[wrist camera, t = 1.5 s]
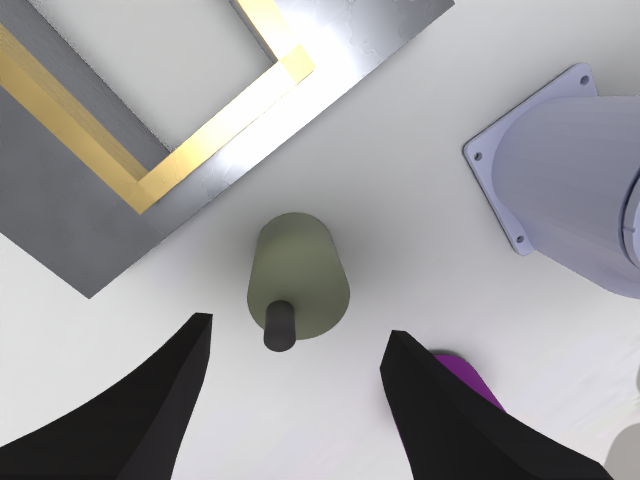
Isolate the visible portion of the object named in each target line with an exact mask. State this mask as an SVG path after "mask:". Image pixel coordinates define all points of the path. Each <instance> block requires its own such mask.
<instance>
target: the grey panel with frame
mask: <svg viewBox="0 0 640 480" xmlns="http://www.w3.org/2000/svg"><path fill="white" fill-rule="evenodd" d="M229 2H230V3H231V5H232V6H233V8H234V9H235V10H236V12H237V13H238V15H239V16H240V17H241V19H242V20H243V22H244V23H245V25H246V26H247V27H248V29H249V30H250V32H251V33H252V34H253V36H254V37H255V39H256V40H257V42H258V43H259V44H260V46H261V47H262V49H263V50H264V51H265V53H266V54H267V56H268V57H269V59H270V60H271V61H272V63H273V64H274V66H273V67H271V68H270V69H269V70H268V71H267V72H266V73H264V74H263V75H262V76H261V77H260V78H259V79H258V80H256V81H255V82H254V83H253V84H252V85H251V86H249V87H248V88H247V89H246V90H245V91H244V92H242V93H241V94H240V95H239V96H238V97H237V98H235V99H234V100H233V101H232V102H231V103H230V104H228V105H227V106H226V107H225V108H224V109H223V110H221V111H220V112H219V113H218V114H217V115H216V116H214V117H213V118H212V119H211V120H210V121H209V122H207V123H206V124H205V125H204V126H203V127H202V128H200V129H199V130H198V131H197V132H196V133H195V134H194V135H192V136H191V137H190V138H189V139H188V140H187V141H185V142H184V143H183V144H182V145H181V146H180V147H178V148H177V149H176V150H175V151H174V152H173V153H170V152H169V151H168V150H167V149H166V148H165V147H164V146H163V145H162V144H161V143H160V142H159V141H158V139H157V138H156V137H155V136H154V135H153V134H152V133H151V132H150V131H149V130H148V129H147V128H146V127H145V126H144V125H143V123H142V122H141V121H140V120H139V119H138V118H137V117H136V116H135V115H134V114H133V113H132V112H131V111H130V110H129V109H128V107H127V106H126V105H125V104H124V103H123V102H122V101H121V100H120V99H119V98H118V97H117V96H116V95H115V94H114V93H113V91H112V90H111V89H110V88H109V87H108V86H107V85H106V84H105V83H104V82H103V81H102V80H101V79H100V78H99V77H98V75H97V74H96V73H95V72H94V71H93V70H92V69H91V68H90V67H89V66H88V65H87V64H86V63H85V62H84V61H83V59H82V58H81V57H80V56H79V55H78V54H77V53H76V52H75V51H74V50H73V49H72V48H71V47H70V46H69V45H68V43H67V42H66V41H65V40H64V39H63V38H62V37H61V36H60V35H59V34H58V33H57V32H56V31H55V30H54V29H53V27H52V26H51V25H50V24H49V23H48V22H47V21H46V20H45V19H44V18H43V17H42V16H41V15H40V14H39V13H38V12H37V10H36V9H35V8H34V7H33V6H32V5H31V4H30V3H29V2H28V1H27V0H0V232H1V233H2V234H3V235H5V236H6V237H7V238H9V239H10V240H11V241H12V242H14V243H15V244H16V245H18V246H19V247H20V248H22V249H23V250H24V251H26V252H27V253H28V254H30V255H31V256H32V257H34V258H35V259H36V260H38V261H39V262H40V263H42V264H43V265H44V266H46V267H47V268H48V269H50V270H51V271H52V272H54V273H55V274H56V275H57V276H59V277H60V278H61V279H63V280H64V281H65V282H67V283H68V284H69V285H71V286H72V287H73V288H75V289H76V290H77V291H79V292H80V293H81V294H83V295H84V296H85V297H87V298H88V299H90V298H92V297H93V296H94V295H95V294H96V293H98V292H99V291H100V290H101V289H103V288H104V287H105V286H106V285H108V284H109V283H110V282H111V281H113V280H114V279H115V278H116V277H118V276H119V275H120V274H121V273H122V272H124V271H125V270H126V269H127V268H129V267H130V266H131V265H132V264H134V263H135V262H136V261H137V260H139V259H140V258H141V257H142V256H144V255H145V254H146V253H147V252H148V251H150V250H151V249H152V248H153V247H155V246H156V245H157V244H158V243H160V242H161V241H162V240H163V239H165V238H166V237H167V236H168V235H170V234H171V233H172V232H173V231H174V230H176V229H177V228H178V227H179V226H181V225H182V224H183V223H184V222H186V221H187V220H188V219H189V218H191V217H192V216H193V215H194V214H196V213H197V212H198V211H199V210H200V209H202V208H203V207H204V206H205V205H207V204H208V203H209V202H210V201H212V200H213V199H214V198H215V197H217V196H218V195H219V194H220V193H222V192H223V191H224V190H225V189H226V188H228V187H229V186H230V185H231V184H233V183H234V182H235V181H236V180H238V179H239V178H240V177H241V176H243V175H244V174H245V173H246V172H248V171H249V170H250V169H251V168H252V167H254V166H255V165H256V164H257V163H259V162H260V161H261V160H262V159H264V158H265V157H266V156H267V155H269V154H270V153H271V152H272V151H274V150H275V149H276V148H277V147H278V146H280V145H281V144H282V143H283V142H285V141H286V140H287V139H288V138H290V137H291V136H292V135H293V134H295V133H296V132H297V131H298V130H300V129H301V128H302V127H303V126H304V125H306V124H307V123H308V122H309V121H311V120H312V119H313V118H314V117H316V116H317V115H318V114H319V113H321V112H322V111H323V110H324V109H326V108H327V107H328V106H329V105H330V104H332V103H333V102H334V101H335V100H337V99H338V98H339V97H340V96H342V95H343V94H344V93H345V92H347V91H348V90H349V89H350V88H352V87H353V86H354V85H355V84H356V83H358V82H359V81H360V80H361V79H363V78H364V77H365V76H366V75H368V74H369V73H370V72H371V71H373V70H374V69H375V68H376V67H378V66H379V65H380V64H381V63H382V62H384V61H385V60H386V59H387V58H389V57H390V56H391V55H392V54H394V53H395V52H396V51H397V50H399V49H400V48H401V47H402V46H404V45H405V44H406V43H407V42H408V41H410V40H411V39H412V38H413V37H415V36H416V35H417V34H418V33H420V32H421V31H422V30H423V29H425V28H426V27H427V26H428V25H430V24H431V23H432V22H433V21H434V20H436V19H437V18H438V17H439V16H441V15H442V14H443V13H444V12H446V11H447V10H448V9H449V8H451V7H452V6H453V5H454V4H455V3H454V1H453V0H229Z"/></svg>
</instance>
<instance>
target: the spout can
mask: <svg viewBox="0 0 640 480" xmlns="http://www.w3.org/2000/svg"><path fill="white" fill-rule="evenodd" d="M349 298H350V290H349V284H348V281H347V279H346V276H345V273H344V270H343V268H342V265H341V262H340V260H339V257H338V254H337V252H336V249H335V246H334V243H333V241H332V238H331V235H330V233H329V231H328V229H327V228H326V227H325V225H324V224H323V223H322V222H320V221H319V220H318V219H316V218H315V217H313V216H311V215H308V214H304V213H287V214H283V215H280V216H278V217H276V218H274V219H272V220H271V221H270V222H269V223H267V224H266V225H265V227H264V228H263V229H262V231H261V233H260V235H259V237H258V240H257V246H256V251H255V256H254V261H253V266H252V272H251V277H250V282H249V287H248V293H247V303H248V308H249V311H250V313H251V315H252V317H253V319H254V320H255V322H256V323H257V324H258V325H259V326H260V327H261V328H262V329H264V344H265V346H266V347H267V348H268V349H270V350H272V351H275V352H283V351H286V350H289V349H290V348H291V347H292V346H293V345H294V344H295V341H296V340H303V339H309V338H313V337H316V336H319V335H321V334H323V333H325V332H327V331H329V330H330V329H331V328H333V327H334V326H335V325H336V324H337V323H338V322H339V321H340V320H341V318H342V317H343V315H344V314H345V312H346V310H347V307H348V304H349Z"/></svg>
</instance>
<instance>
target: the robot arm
mask: <svg viewBox="0 0 640 480" xmlns="http://www.w3.org/2000/svg"><path fill="white" fill-rule="evenodd" d="M582 77H583V82H582V84H580V81H581V78H582ZM476 153H478V154H479V156H478V158H477V159H476V160H474V155H475V154H476ZM464 154H465V156H466V158H467V160H468V162H469V164H470V166H471V168H472V170H473V172H474V173H475V175H476V177H477V179H478V181H479V183H480V185H481V187H482V189H483V191H484V192H485V194H486V196H487V198H488V200H489V202H490V204H491V206H492V208H493V210H494V211H495V213H496V215H497V217H498V219H499V221H500V223H501V225H502V227H503V229H504V230H505V232H506V234H507V236H508V238H509V240H510V242H511V244H512V246H513V248H514V249H515V251H516V253H517V254H519V255H521V256H526V255H528V254H529V253H531V252H532V251H534V250H537V251H539V252H541V253H542V254H544V255H546V256H548V257H549V258H551V259H553V260H555V261H556V262H558V263H560V264H562V265H564V266H565V267H567V268H569V269H571V270H572V271H574V272H576V273H578V274H579V275H581V276H583V277H585V278H587V279H588V280H590V281H592V282H594V283H595V284H597V285H599V286H601V287H602V288H604V289H606V290H608V291H611V292H613V293H616V294H618V295H622V296H625V297H630V298H635V299H640V95H624V96H599V95H598V92H597V89H596V86H595V83H594V79H593V76H592V73H591V70H590V67H589V65H588V64H587V63H579V64H576V65H574V66H573V67H571V68H570V69H569V70H567V71H566V72H564V73H563V74H562V75H560V76H559V77H558V78H556V79H555V80H553V81H552V82H551V83H549V84H548V85H547V86H545V87H544V88H542V89H541V90H540V91H538V92H537V93H535V94H534V95H533V96H531V97H530V98H529V99H527V100H526V101H524V102H523V103H522V104H520V105H519V106H518V107H516V108H515V109H513V110H512V111H511V112H509V113H508V114H507V115H505V116H504V117H502V118H501V119H500V120H498V121H497V122H496V123H494V124H493V125H491V126H490V127H489V128H487V129H486V130H485V131H483V132H482V133H480V134H479V135H478V136H476V137H475V138H474V139H472V140H471V141H469V142H468V143H467V144H466V145H465V147H464ZM519 236H520V238H519V239H518V240H517V238H518V237H519ZM212 317H213V314H207V313H195V314H193V315H192V316H191V317H190V318H189V320H188V321H187V322H186V323H185V324H184V325H183V326H182V327H181V328H180V329H179V330H178V331H177V332H176V333H175V334H174V335H173V336H172V337H171V338H170V339H169V340H168V341H167V342H166V343H165V344H164V345H163V346H162V347H161V348H159V349H158V350H157V351H156V352H155V353H154V354H153V355H151V356H150V357H149V358H148V359H147V360H146V361H144V362H143V363H142V364H141V365H140V366H138V367H137V368H136V369H135V370H133V371H132V372H131V373H129V374H128V375H127V376H125V377H124V378H123V379H121V380H120V381H118V382H117V383H116V384H114V385H113V386H111V387H110V388H108V389H107V390H105V391H104V392H102V393H101V394H99V395H98V396H96V397H95V398H93V399H91V400H90V401H88V402H87V403H85V404H83V405H82V406H80V407H78V408H77V409H75V410H73V411H71V412H70V413H68V414H66V415H64V416H62V417H60V418H59V419H57V420H55V421H53V422H51V423H49V424H47V425H45V426H43V427H42V428H40V429H38V430H36V431H34V432H31V433H29V434H27V435H25V436H23V437H21V438H19V439H17V440H15V441H12V442H10V443H8V444H6V445H4V446H2V447H0V480H170V479H171V476H172V472H173V468H174V465H175V461H176V457H177V454H178V451H179V448H180V445H181V442H182V439H183V436H184V434H185V431H186V428H187V425H188V423H189V420H190V417H191V415H192V412H193V409H194V406H195V404H196V401H197V398H198V395H199V393H200V390H201V387H202V384H203V381H204V377H205V373H206V369H207V365H208V361H209V356H210V343H211V330H212ZM380 373H381V377H382V382H383V386H384V391H385V394H386V397H387V400H388V403H389V405H390V408H391V411H392V414H393V417H394V419H395V422H396V425H397V427H398V430H399V433H400V436H401V438H402V441H403V444H404V447H405V450H406V453H407V456H408V459H409V463H410V466H411V470H412V474H413V478H414V480H614V479H613V478H612V477H611V476H610V475H609V473H608V472H607V471H606V470H605V469H604V468H603V467H602V465H601V464H600V463H598V462H596V461H594V460H592V459H590V458H588V457H586V456H584V455H582V454H580V453H578V452H576V451H574V450H572V449H569V448H567V447H565V446H563V445H561V444H559V443H557V442H556V441H554V440H552V439H550V438H548V437H546V436H545V435H543V434H541V433H539V432H537V431H535V430H534V429H532V428H530V427H529V426H527V425H525V424H523V423H522V422H520V421H519V420H517V419H515V418H514V417H512V416H511V415H509V414H507V413H506V412H504V411H503V410H501V409H500V408H498V407H497V406H495V405H494V404H492V403H491V402H490V401H488V400H487V399H485V398H484V397H483V396H481V395H480V394H479V393H477V392H476V391H475V390H473V389H472V388H471V387H469V386H468V385H467V384H466V383H464V382H463V381H462V380H461V379H460V378H458V377H457V376H456V375H455V374H453V373H452V372H451V371H450V370H449V369H448V368H447V367H445V366H444V365H443V364H442V363H441V362H440V361H439V360H438V359H436V358H435V357H434V356H433V355H432V354H431V353H430V352H429V351H428V350H427V349H425V348H424V347H423V346H422V345H421V344H420V343H419V342H418V341H417V340H416V339H415V338H413V337H412V336H411V335H410V334H409V333H407V332H406V331H398V330H392V332H391V335H390V338H389V341H388V344H387V347H386V350H385V353H384V356H383V359H382V362H381V366H380Z"/></svg>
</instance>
